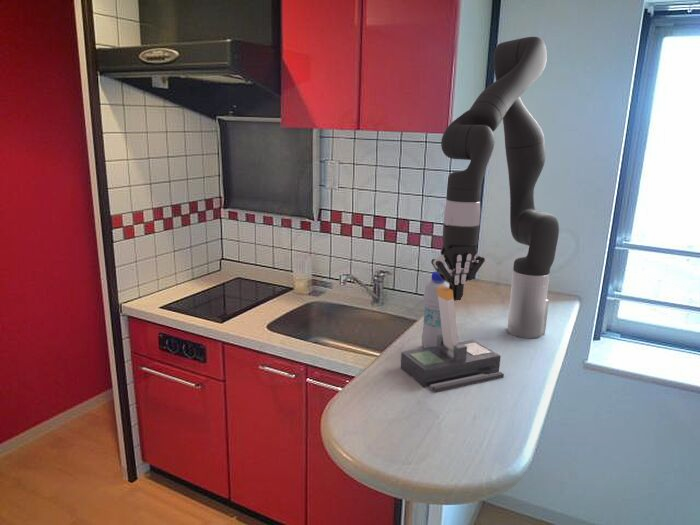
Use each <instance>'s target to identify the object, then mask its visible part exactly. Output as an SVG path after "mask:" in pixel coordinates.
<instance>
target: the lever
mask: <svg viewBox="0 0 700 525" xmlns="http://www.w3.org/2000/svg"><path fill="white" fill-rule="evenodd" d="M437 294H438V301H439V309H440V318H441V326H442V335H443V343H444V346H445V347H446V348H448V349H449V350H451V351H452V352H454V346H456V345H458V342H459V336H458V327H457V319H456V309H455V301H454V297H453V290H451V289H449V288H447V287H445V286H440V287H437Z"/></svg>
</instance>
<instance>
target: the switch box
mask: <svg viewBox="0 0 700 525" xmlns="http://www.w3.org/2000/svg"><path fill="white" fill-rule="evenodd" d="M500 367H501V355H500V354H498V353H497V352H495V351H493V350H492V349H490V348H488V347H486V346H485V345H484V344H481V343H480V342H478V341H477V340H475V339H469V340H464V341H458V345H456V346H454V352H452V351H451V350H449V349H448V348H446V347H445V346H444V343H443V335H437V346H434V347H428V348H425V347H423V348H418V349H417V348H416V349H412V350H411V349H410V350H407V351H402V352H401V353H400V369H401V370H402V371H403V372H404V373H405V374H407V375H408V376H409V377H410V378H412V379H413V380H414V381H415V382H416V383H418V384H419V385H420V386H421V387H423V388H424V389H426V388H430V385H431V384H436V383H441V382H446V381H450V380H455V379H460V378H465V377H470V376H474V375H479V374H485V375H490V374H495V373H499V372H500Z"/></svg>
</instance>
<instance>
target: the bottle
mask: <svg viewBox="0 0 700 525" xmlns="http://www.w3.org/2000/svg"><path fill="white" fill-rule="evenodd" d="M440 286H445V287H447V288H449V282H447V281H445V280H442V278H441V277H440V275H439V274H438V272H437V271H436V270H435V271H433V272H432V273H431V281H428V282H427V283H426V284H425V287H424V291H423V303H424V311H423V312H424V313H423V326H422V334H421V344H422V347H423V348H428V347H434V346H437V335H442V326H441V318H440V309H439V301H438V294H437V287H440Z"/></svg>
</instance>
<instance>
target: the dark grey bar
mask: <svg viewBox="0 0 700 525" xmlns="http://www.w3.org/2000/svg"><path fill="white" fill-rule="evenodd" d="M504 376H505V373H503V372H500V371H499V372H497V373H492V374H487V375H485V374H479V375H474V376H470V377H465V378H460V379H455V380H450V381H446V382H441V383H436V384H431V385H430V387H429V389H431V391H432V392H434V393H440V392H444V391H448V390H453V389H454V390H455V389H458V388H462V387H467V386H471V385H476V384H481V383H485V382H486V383H487V382H490V381H495V380H500V379H503V378H504Z"/></svg>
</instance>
